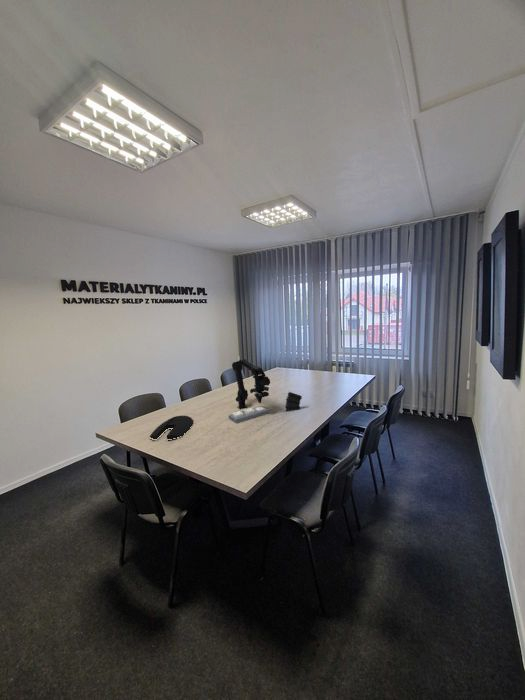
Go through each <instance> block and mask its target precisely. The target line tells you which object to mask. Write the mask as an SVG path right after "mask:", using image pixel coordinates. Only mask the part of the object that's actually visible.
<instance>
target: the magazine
mask: <svg viewBox="0 0 525 700" xmlns="http://www.w3.org/2000/svg"><path fill="white" fill-rule="evenodd" d="M302 399H303V398H302V395H299V394H297V393H294V392H291V391H288V392H287V396H286V399H285V405H284V407H285V411H286V412H292V411H297V410H299V411H300V409H301V406H300V404H301V400H302Z"/></svg>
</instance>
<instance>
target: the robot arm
mask: <svg viewBox="0 0 525 700" xmlns="http://www.w3.org/2000/svg"><path fill="white" fill-rule="evenodd" d="M231 367H232V370H233V372H235V373H234V374H235V377H236V383H237V388H238V390H237V396H236V398H235V401H236V402H237V403H238V406H237V408H238V409H240V410H242V409H247V408H248V406H246V405H247V404H246V401H247V400H248V397H249V394H253V393H254V394H253V395H254V398H256V400H257V402H258V403H259V404H261V402H262V399H263V398H266V397H268V396H270V393H269V390H270V387H269V385H270V384H271V380H270V378H269V376H267V375H266V373H265V372H264V370H263V368H262V367H260V366H257V365H254V364H252V363H251V362H249V361H248V360H247V359H246V358H242V359H240V360H237V361H234V362H232V363H231ZM243 367H245V368H246V369H248V370H249V371H250V372H251V374H252V375H253V376H252V378H253V379H254V385H253V386H254V388H251V389H250V390H249V393H248V390H247V389H246V388H245V385H244V379H243V374H242V373H243V372H242V370H243Z"/></svg>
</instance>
